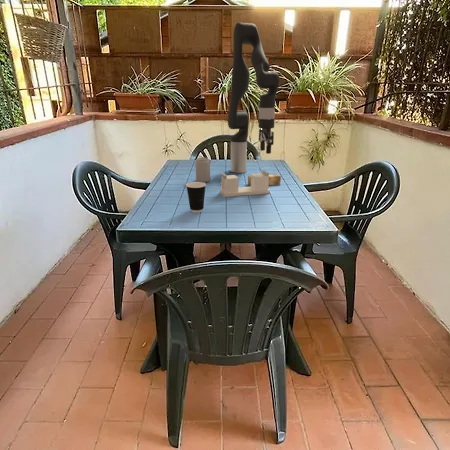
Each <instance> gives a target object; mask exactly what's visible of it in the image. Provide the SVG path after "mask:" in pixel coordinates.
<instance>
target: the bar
mask: <svg viewBox="0 0 450 450" xmlns="http://www.w3.org/2000/svg"><path fill="white" fill-rule="evenodd" d="M281 178H282V177H281V175H280V174H279V173H275V174H269V182H268V186H272V185H273V186H274V185H281V182H282V181H281ZM247 185H249V187H251V175H248V176H247Z"/></svg>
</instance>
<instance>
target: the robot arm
mask: <svg viewBox="0 0 450 450" xmlns="http://www.w3.org/2000/svg"><path fill="white" fill-rule="evenodd" d="M232 37H233V44H232V45H233V60H232V69H231V71H232V72H231V82H230V84H231V86H230V87H231V88H230V100H229V107H228V114H227V125H228V128H229V129H230V130H238V131H237V132H236V133H235V134H233V135H231V136H230V172H231V173H236V174H242V173H246V172H247V162H248V161H247V159H248V157H247V155H248V151H247V150H248V149H247V148H248V136H249V124H250V123H249V122H250V120H249V114H248V112H246V111H242V110H241V111H238V108H239V105H240V102H241V101H242V99H243V98H244V96H245V95H246V93H247V91H248V89H249V85H250V76H251V74H250V70H249V67H248V65H247V63H246V60H245V57H244V53H243V45H251V46H252V48H253V49H252V52H251V55H250V62H251V64H252V67H253V69H254V73H255V81H256V82H255V84H256V86H257V87H259V88H260V89H263V90H264V89H268V91H267V92H266V93H263V94H261V95H260V96H259V109H258V142H259V143H260V144H259V146H260V148H259V151H261V152H262V151H265V150H266V151H265V154H269V155H270V154H271V153H272V146H274V137H275V136H274V135H275V132H274V131H272V129H274V128H275V116H276V110H275V103H276V96H277V92H278V89H279V86H280V80H281V79H280V74H278V72H276V71H270V69H271V68H270V63H269V61H268V59H267V57H266V54H265V51H264V49H263V46H262V41H261V37H260V33H259V29H258V27H257V26H256V24H255V23H251V22H237V23H236V24H235V26H234V29H233V36H232Z"/></svg>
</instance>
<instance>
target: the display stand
mask: <svg viewBox="0 0 450 450" xmlns="http://www.w3.org/2000/svg"><path fill="white" fill-rule="evenodd" d="M269 175H270V172H268V171H267V170H266V169H262V172H261V173H259V172H258V173H251V174H250V176H251V186H242V187H239V177H238V176H237V175H236V174H229V175H227V174H226V173H224V172H221V177H220V178H221V179H220V180H221V181H220V182H221V188H220V189H219V193H220V194H221V195H222V196H223V197H224V198H228V197H239V196H242V197H243V196H255V195H264V194H271V190H270V188H269V185H268V182H269Z"/></svg>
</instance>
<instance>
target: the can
mask: <svg viewBox="0 0 450 450" xmlns="http://www.w3.org/2000/svg"><path fill="white" fill-rule="evenodd" d="M194 164H195V180H196V182H203V183H208V182H210V180H211V162H210V159H209V158H208V157H197V158H196V160H195V163H194Z"/></svg>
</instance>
